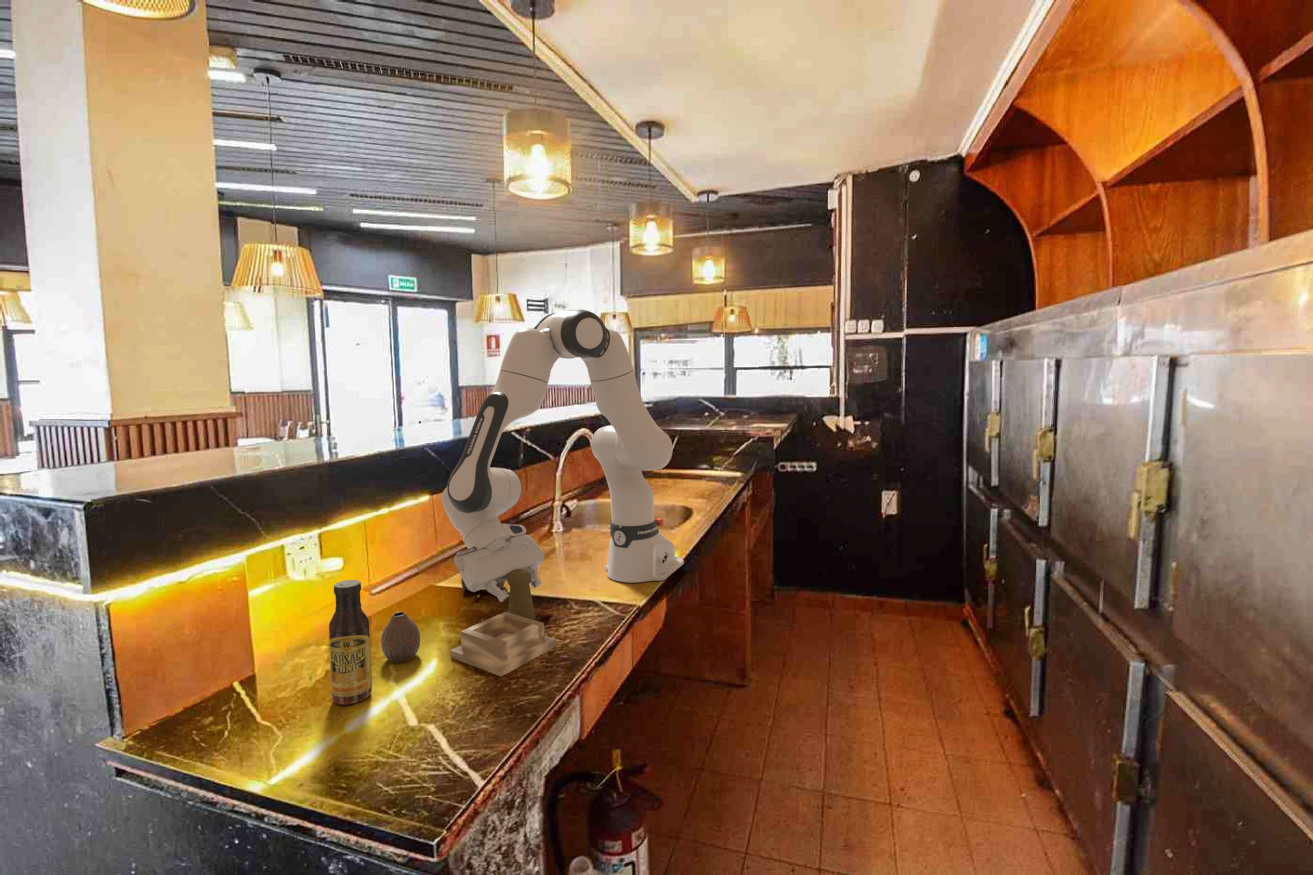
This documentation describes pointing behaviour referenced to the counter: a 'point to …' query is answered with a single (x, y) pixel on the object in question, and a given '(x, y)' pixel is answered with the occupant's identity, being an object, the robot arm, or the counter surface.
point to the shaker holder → (502, 643)
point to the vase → (400, 638)
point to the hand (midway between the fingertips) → (522, 592)
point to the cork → (520, 593)
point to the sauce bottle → (349, 646)
